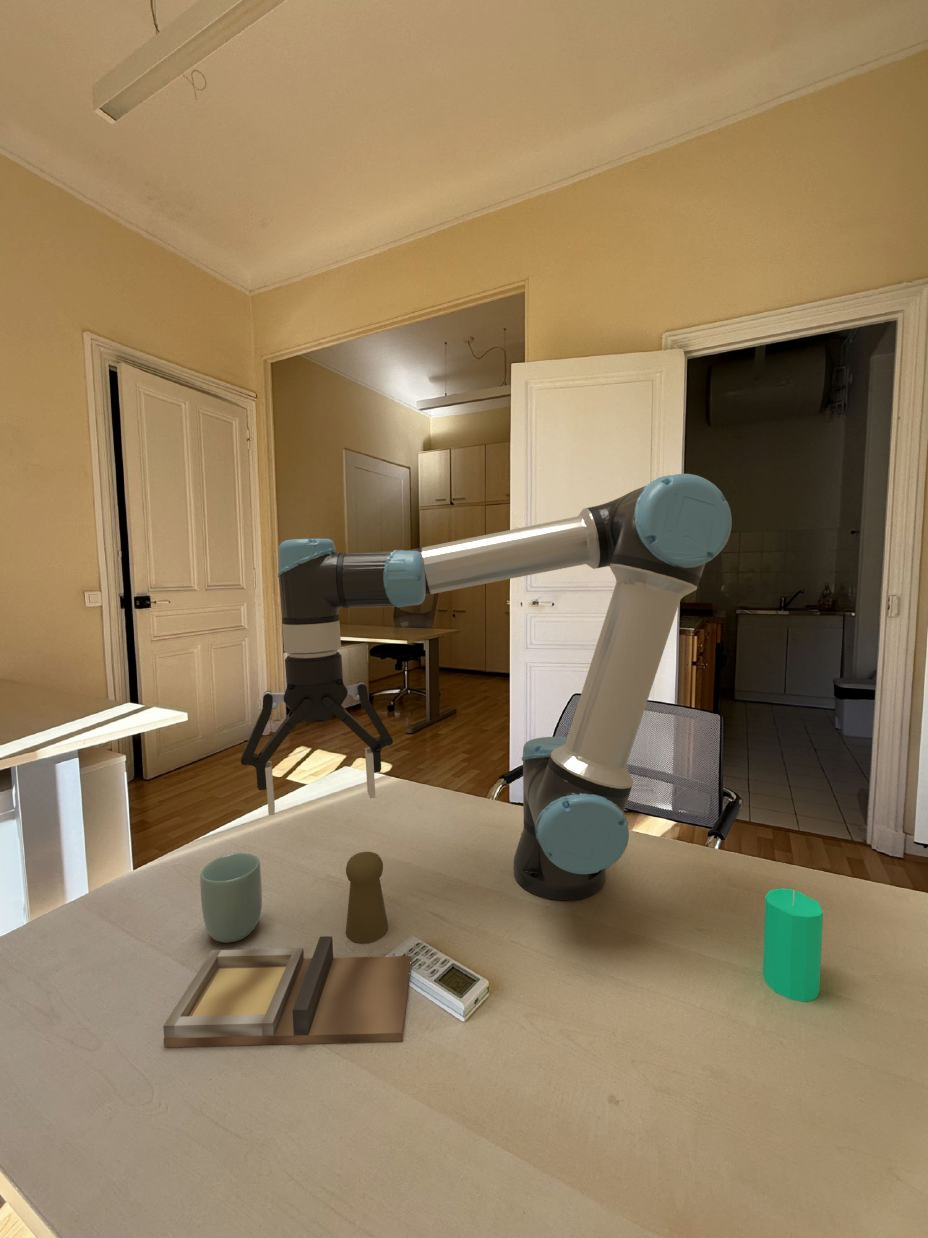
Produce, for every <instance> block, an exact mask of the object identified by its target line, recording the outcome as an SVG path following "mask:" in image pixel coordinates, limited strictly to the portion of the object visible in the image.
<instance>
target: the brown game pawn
mask: <svg viewBox="0 0 928 1238" xmlns="http://www.w3.org/2000/svg"><path fill="white" fill-rule="evenodd" d="M383 870H384V863H383V860H382V858H381V856H380V855H379V854H377V853H375V852H373V851H361V852H358V853H356V854H353V855H352V856H351V857H350V858H349V859H348V861H347V863H346V867H345V875H346V877H347V880H348V881H349V893H348V894H349V895H348V902H347V903H348V904H347V912H346V913H347V915H346V923H345V924H346V925H345V926H346V927H345V928H346V929H345V935H346V938H347V939H348V941H350V942H352V943H354V944H362V945H364V944H371V943H375V942H377V941H379V940H381V939H382V938H384V936H385V935H386V934H387V932H388V930H389V924H388V923H389V922H388V919H387V917H388V916H387V912H386V906H385V900H384V896H383V889H382V884H381V877H382V875H383Z"/></svg>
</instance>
